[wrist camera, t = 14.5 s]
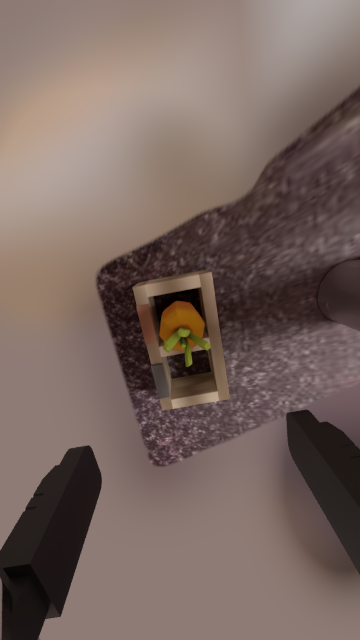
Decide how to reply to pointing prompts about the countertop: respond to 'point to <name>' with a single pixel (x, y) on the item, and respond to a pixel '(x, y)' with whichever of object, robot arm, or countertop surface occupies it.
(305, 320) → the countertop surface
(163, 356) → the frame
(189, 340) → the carrot
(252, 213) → the countertop surface
